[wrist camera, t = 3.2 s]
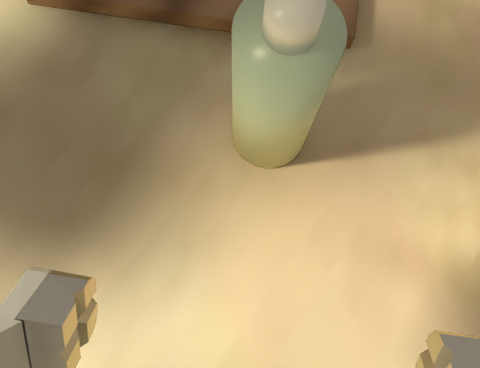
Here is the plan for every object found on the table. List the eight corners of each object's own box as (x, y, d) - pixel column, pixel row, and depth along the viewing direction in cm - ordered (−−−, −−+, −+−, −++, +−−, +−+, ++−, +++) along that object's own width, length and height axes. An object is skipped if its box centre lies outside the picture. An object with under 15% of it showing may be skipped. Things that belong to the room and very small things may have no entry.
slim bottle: (227, 162, 30) (222, 47, 17) (237, 95, 32) (241, -61, 18) (300, 173, 30) (354, 66, 17) (308, 105, 31) (364, -44, 18)
